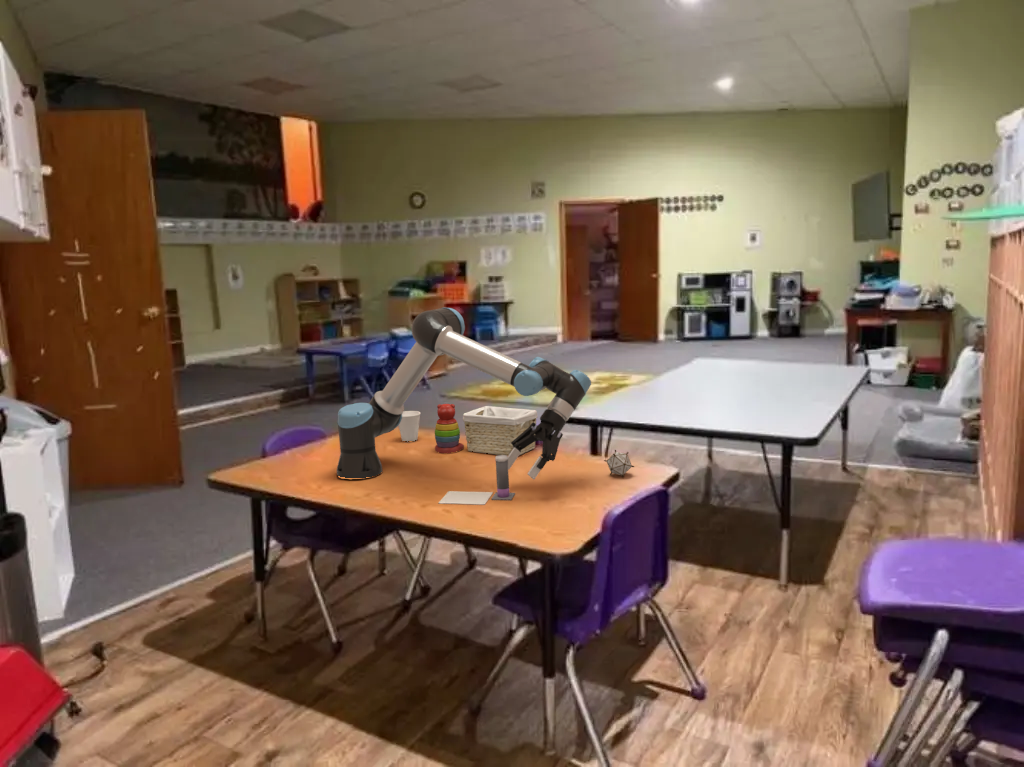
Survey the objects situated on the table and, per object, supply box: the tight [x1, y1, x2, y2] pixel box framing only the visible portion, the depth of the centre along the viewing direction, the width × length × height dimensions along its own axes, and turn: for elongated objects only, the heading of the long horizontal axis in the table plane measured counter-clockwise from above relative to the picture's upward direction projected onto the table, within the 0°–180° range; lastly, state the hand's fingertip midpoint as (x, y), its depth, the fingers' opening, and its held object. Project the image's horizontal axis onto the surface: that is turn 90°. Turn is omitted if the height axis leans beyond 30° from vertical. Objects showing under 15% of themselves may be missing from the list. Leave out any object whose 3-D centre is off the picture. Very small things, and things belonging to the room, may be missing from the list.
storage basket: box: [462, 405, 538, 456], centre depth 277 cm, size 24×16×15 cm
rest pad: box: [491, 491, 516, 501], centre depth 224 cm, size 6×6×1 cm
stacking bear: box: [434, 403, 465, 454], centre depth 279 cm, size 11×10×18 cm
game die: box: [603, 449, 635, 478], centre depth 240 cm, size 9×8×10 cm
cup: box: [398, 410, 422, 443], centre depth 297 cm, size 10×10×11 cm
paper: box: [438, 490, 494, 506], centre depth 224 cm, size 14×11×1 cm
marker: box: [494, 455, 510, 498], centre depth 223 cm, size 4×4×12 cm
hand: (517, 471), depth 225 cm, fingers open, 13 cm apart
